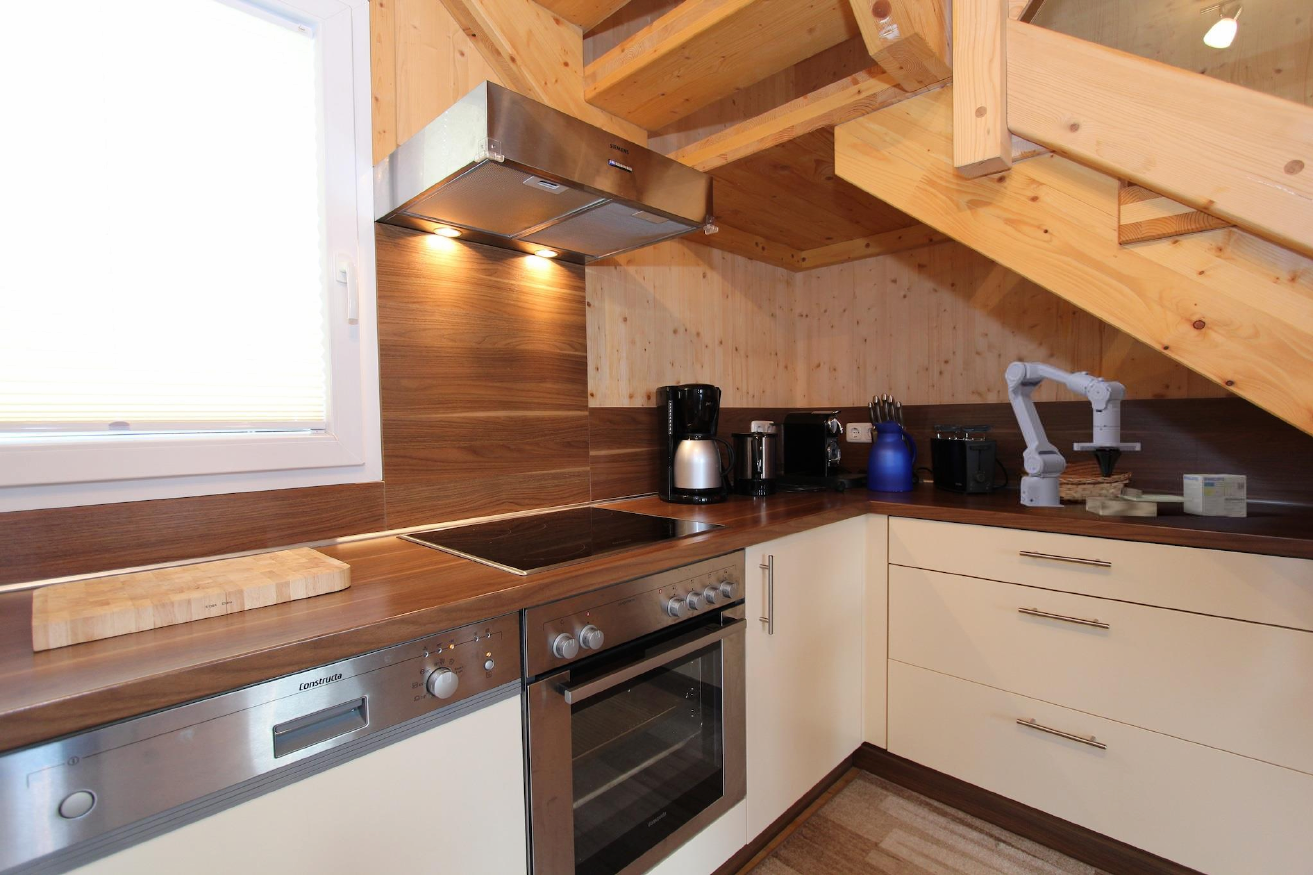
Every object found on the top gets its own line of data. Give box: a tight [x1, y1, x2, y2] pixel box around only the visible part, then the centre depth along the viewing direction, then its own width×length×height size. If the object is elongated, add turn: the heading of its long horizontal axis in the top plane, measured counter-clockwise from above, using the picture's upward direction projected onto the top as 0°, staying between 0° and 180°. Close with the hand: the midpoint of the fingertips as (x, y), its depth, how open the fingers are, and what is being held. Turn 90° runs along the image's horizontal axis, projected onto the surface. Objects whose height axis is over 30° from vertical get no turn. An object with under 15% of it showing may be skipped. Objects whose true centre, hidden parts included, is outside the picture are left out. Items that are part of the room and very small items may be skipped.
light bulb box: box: [1182, 473, 1247, 518], centre depth 154 cm, size 11×7×11 cm, turn 84°
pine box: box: [1085, 496, 1158, 517], centre depth 158 cm, size 12×10×4 cm
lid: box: [1117, 487, 1193, 503], centre depth 155 cm, size 12×10×3 cm
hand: (1106, 477), depth 158 cm, fingers closed
